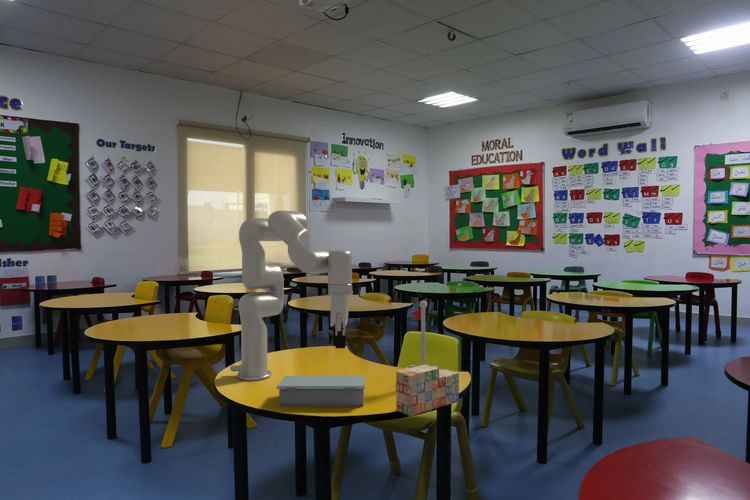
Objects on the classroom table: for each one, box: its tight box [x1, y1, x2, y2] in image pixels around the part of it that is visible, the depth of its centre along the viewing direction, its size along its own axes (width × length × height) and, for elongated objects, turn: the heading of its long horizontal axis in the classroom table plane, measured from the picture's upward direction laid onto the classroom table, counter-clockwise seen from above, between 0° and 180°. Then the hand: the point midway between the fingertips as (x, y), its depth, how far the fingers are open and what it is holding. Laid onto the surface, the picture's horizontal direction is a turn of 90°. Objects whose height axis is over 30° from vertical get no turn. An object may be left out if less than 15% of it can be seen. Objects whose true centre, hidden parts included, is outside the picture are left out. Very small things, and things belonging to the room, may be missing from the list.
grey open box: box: [278, 389, 365, 407], centre depth 153 cm, size 26×12×5 cm, turn 90°
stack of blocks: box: [395, 364, 460, 417], centre depth 148 cm, size 21×6×12 cm, turn 128°
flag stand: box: [404, 300, 442, 370], centre depth 171 cm, size 13×13×30 cm
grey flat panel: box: [276, 375, 367, 393], centre depth 153 cm, size 27×13×2 cm, turn 90°
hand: (340, 347), depth 150 cm, fingers closed
